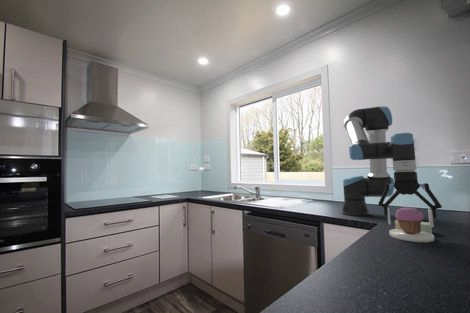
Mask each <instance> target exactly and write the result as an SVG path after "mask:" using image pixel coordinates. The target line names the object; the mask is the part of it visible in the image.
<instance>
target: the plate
mask: <svg viewBox="0 0 470 313" xmlns="http://www.w3.org/2000/svg"><path fill="white" fill-rule="evenodd" d="M388 233H389V235H388V236H390V237H391V238H394V239H395V240H396V239H397V240H401V241H404V242H405V241H406V242H413V243H431V242H434V241H435V235H434V234H433V233H432V234H431V233H428V232H424V231H421V232H420V233H414V234H412V233H409V232H404V231H403V230H402V229H396V228H392V229H389V231H388Z"/></svg>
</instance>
